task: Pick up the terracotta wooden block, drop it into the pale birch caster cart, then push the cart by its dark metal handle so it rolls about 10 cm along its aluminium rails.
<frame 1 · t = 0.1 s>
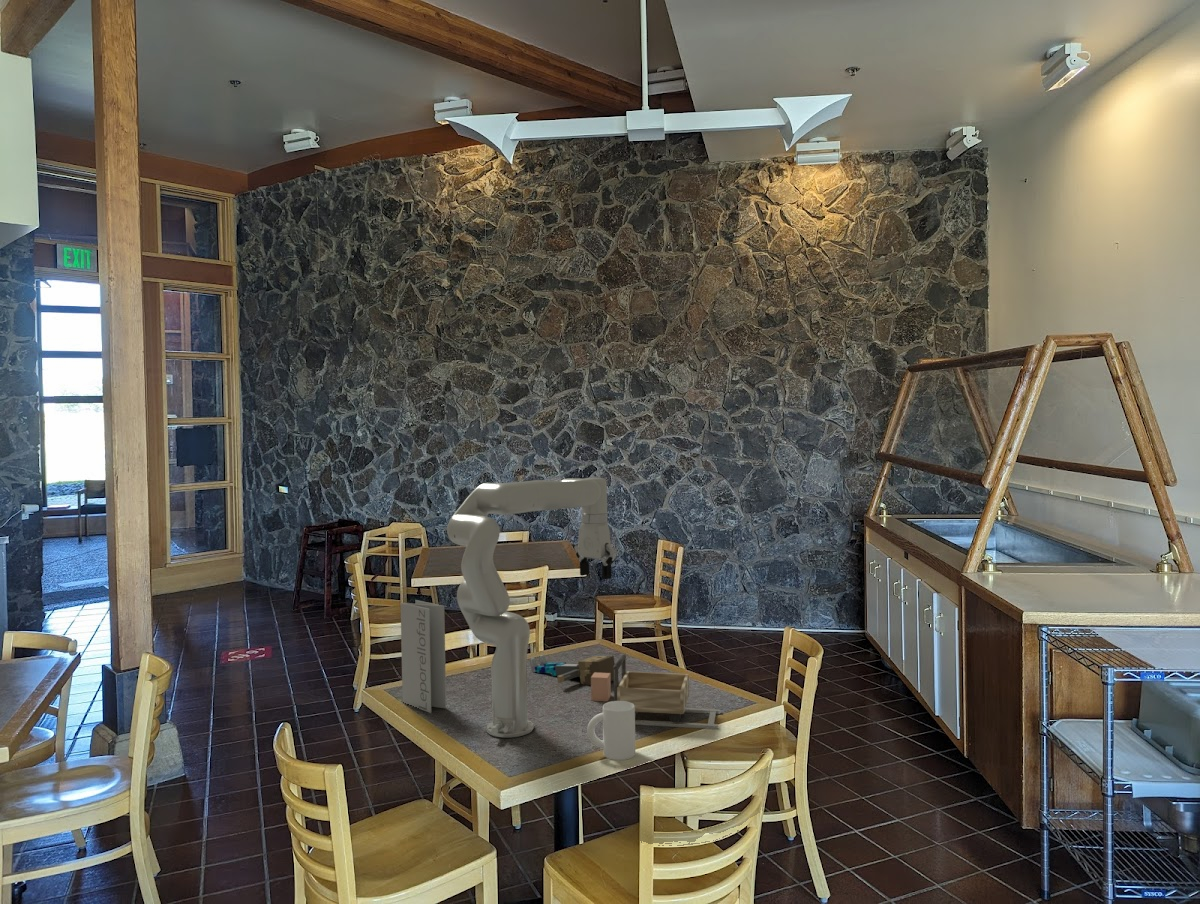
hand: (595, 576, 242), 37 cm above the table, tool pointing down, fingers open, 9 cm apart
toy: (571, 678, 268), on the table
rails: (672, 718, 227), on the table
mug: (611, 754, 202), on the table
cart: (651, 686, 228), point 9 cm above the table, slide at 0.0 cm
brochure: (424, 706, 241), on the table
block: (601, 698, 246), on the table
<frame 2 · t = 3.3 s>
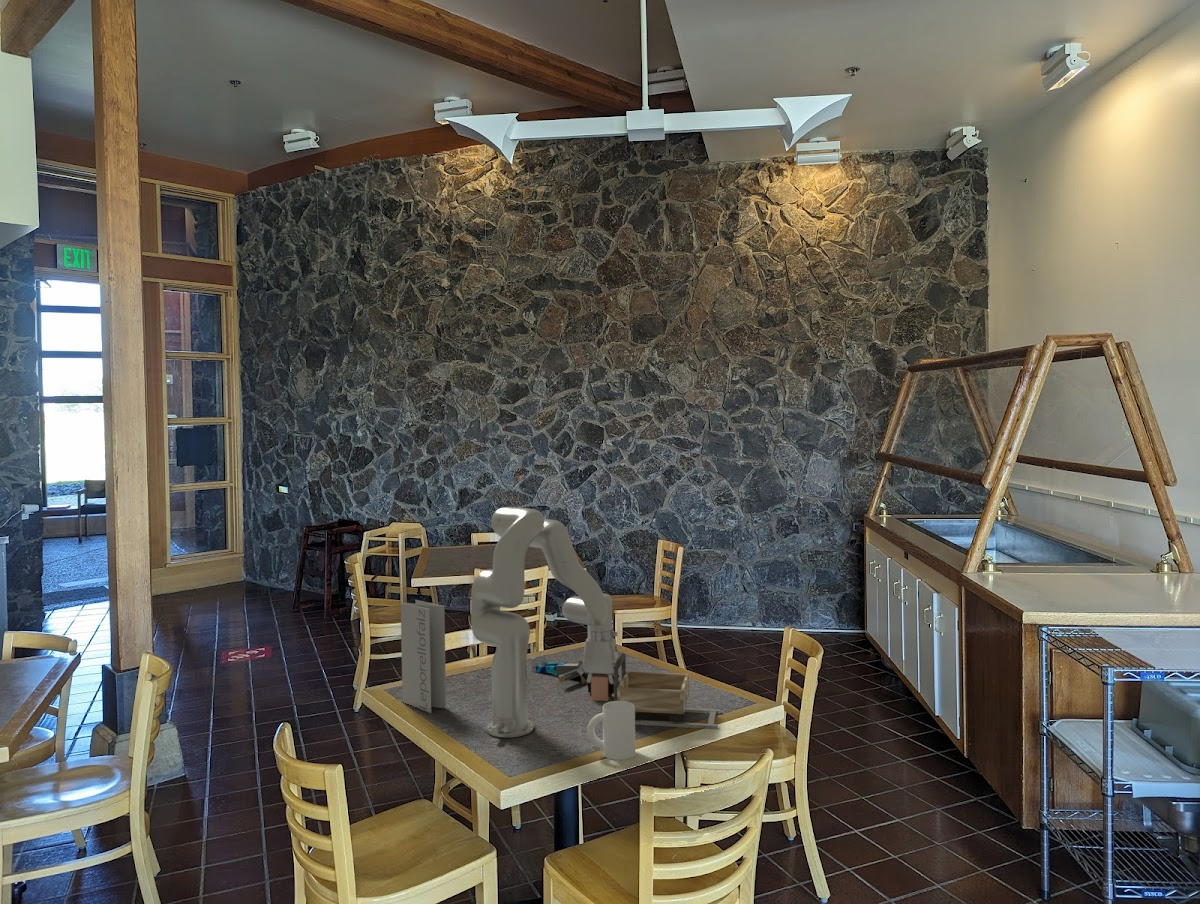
hand: (601, 694, 246), 1 cm above the table, tool pointing down, fingers closed on block, 5 cm apart
block: (601, 698, 246), on the table, touching gripper
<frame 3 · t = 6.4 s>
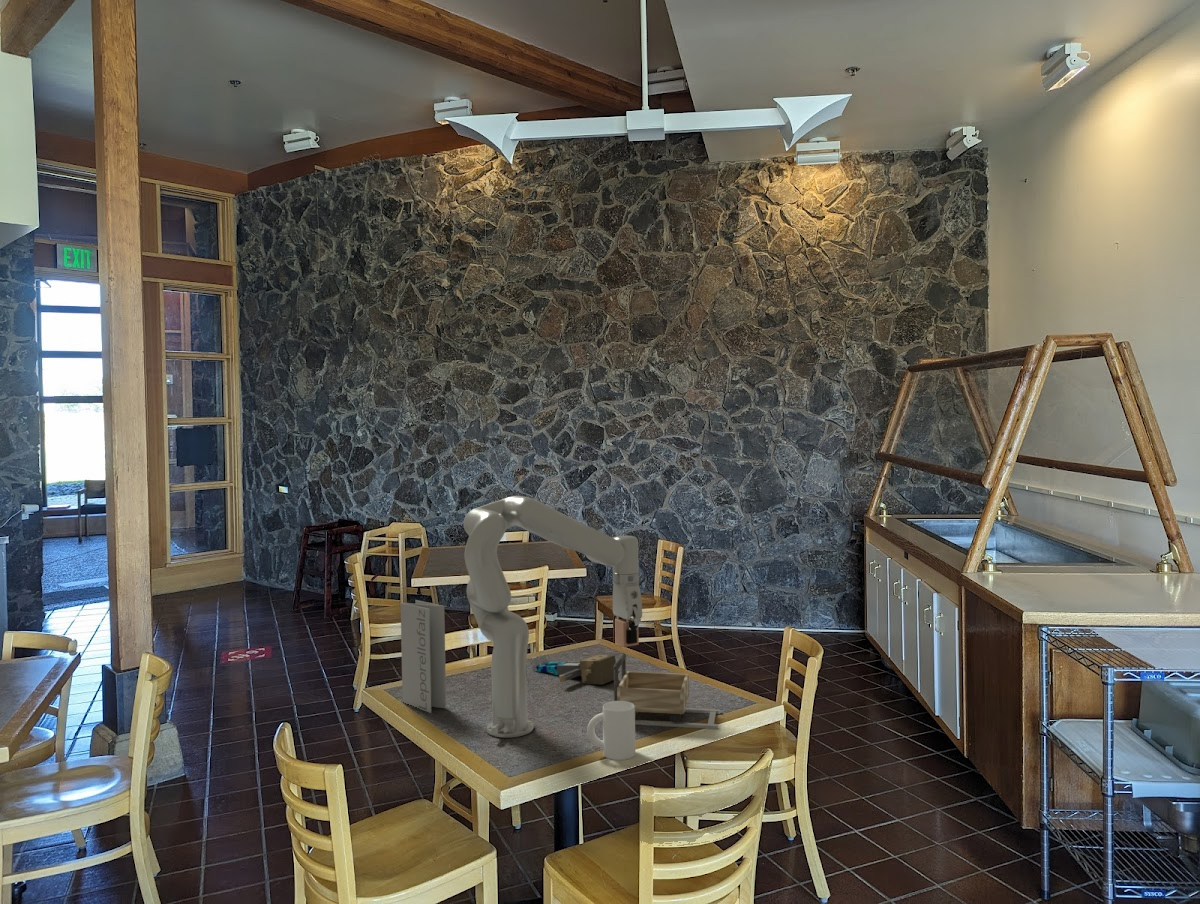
hand: (626, 640, 237), 19 cm above the table, tool pointing down, fingers closed on block, 5 cm apart
block: (626, 643, 237), point 18 cm above the table, touching gripper
when the fingers open (8 cm above the table, at t = 9.7 s): block drops 2 cm, resting on cart.
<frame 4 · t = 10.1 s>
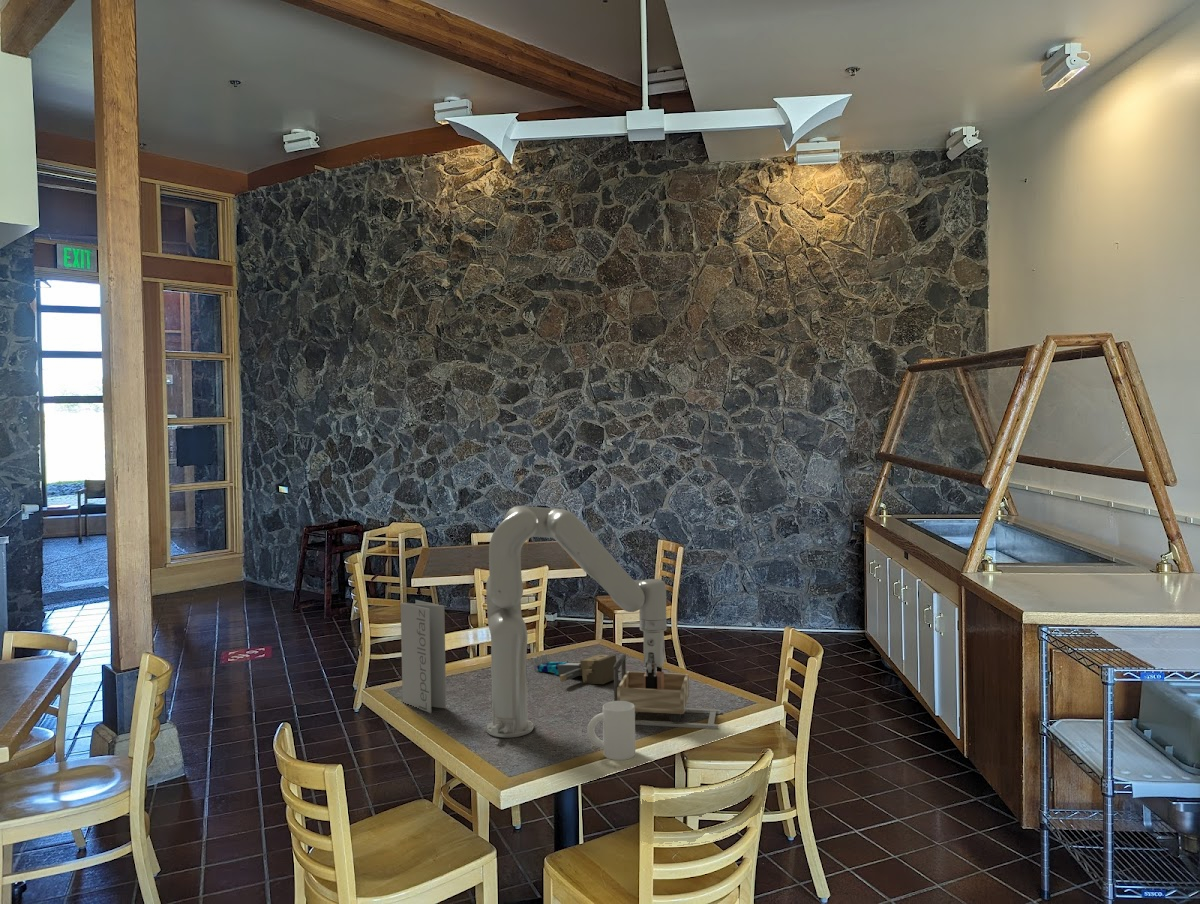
hand: (653, 685, 228), 9 cm above the table, tool pointing down, fingers open, 9 cm apart
cart: (651, 686, 228), point 9 cm above the table, slide at 0.0 cm, touching block
block: (654, 698, 228), point 5 cm above the table, touching cart
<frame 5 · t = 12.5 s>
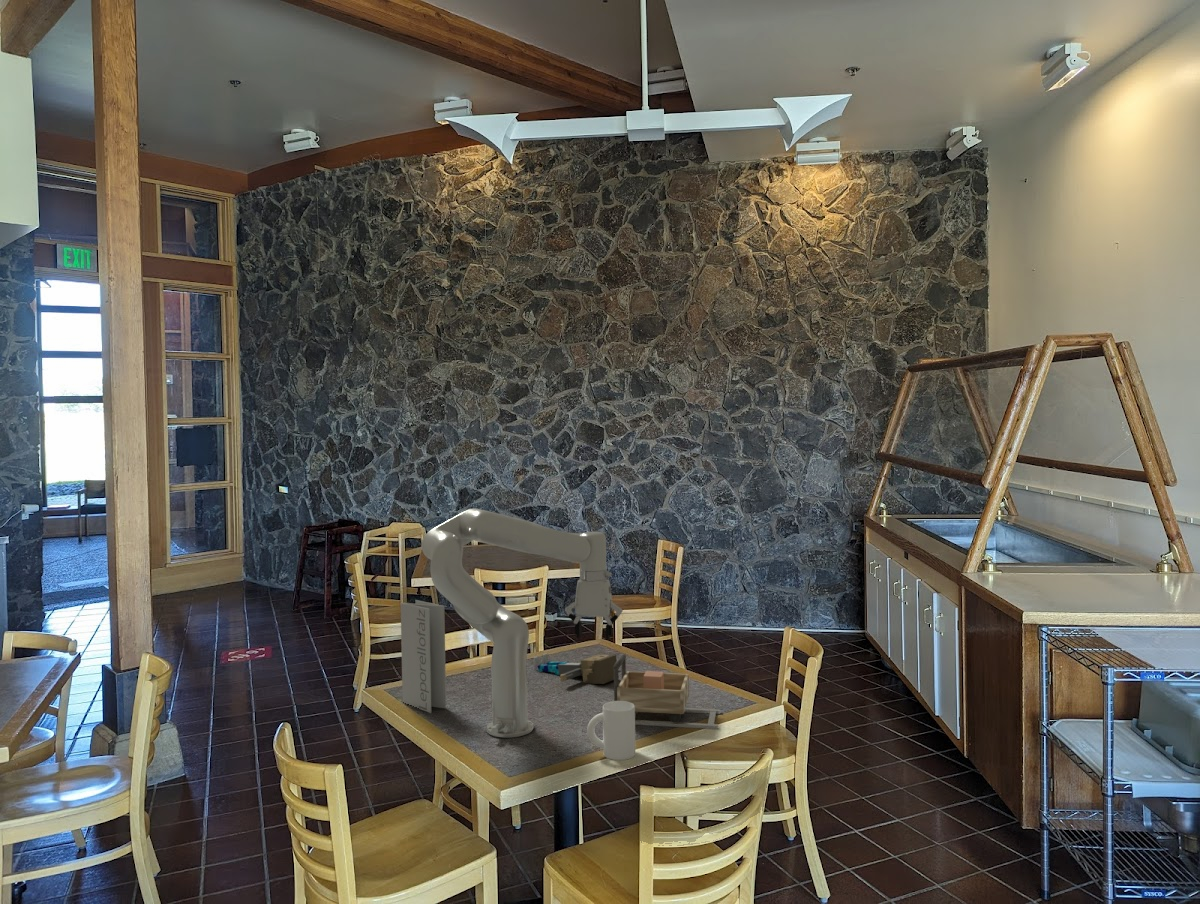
hand: (593, 637, 231), 22 cm above the table, tool pointing down, fingers open, 7 cm apart
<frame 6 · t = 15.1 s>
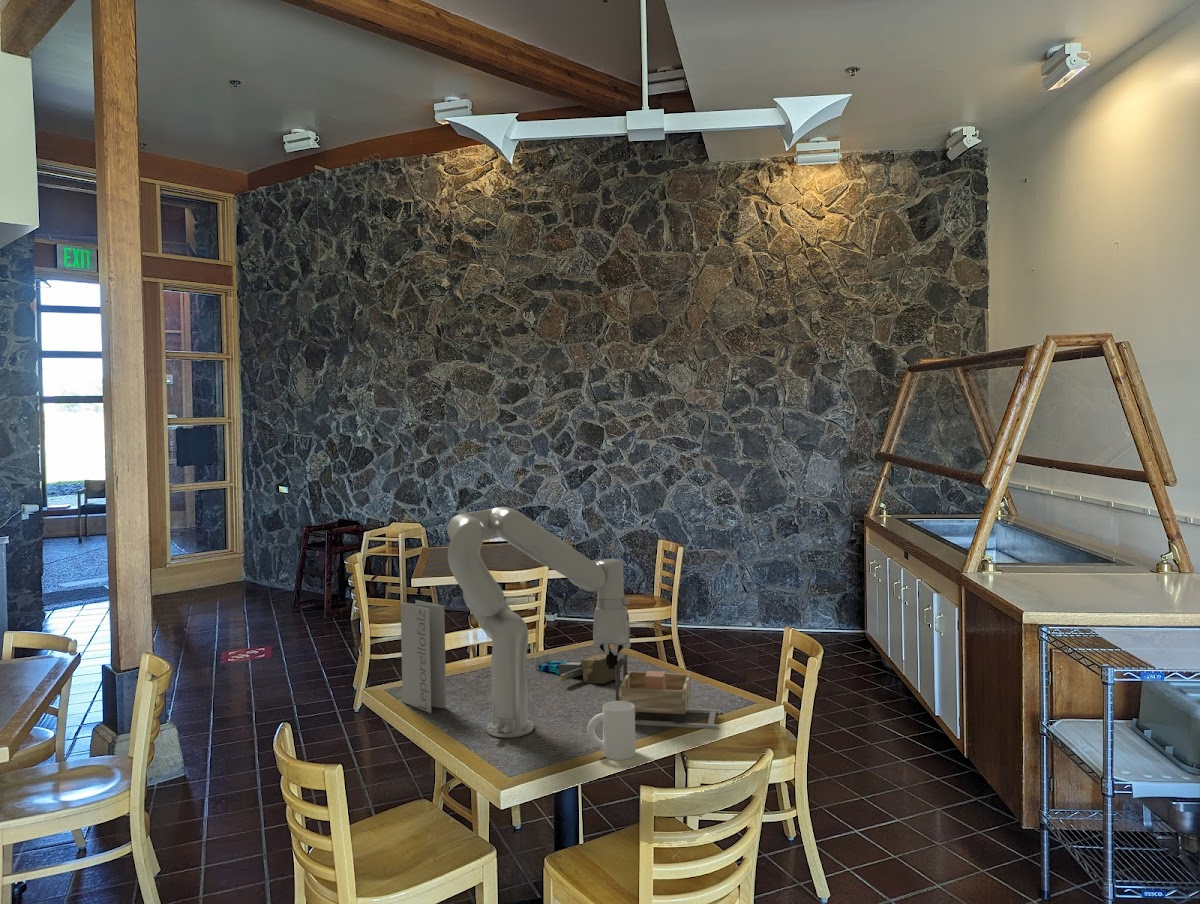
hand: (612, 667, 231), 13 cm above the table, tool pointing down, fingers closed
cart: (653, 686, 228), point 9 cm above the table, slide at 0.5 cm, touching block, gripper
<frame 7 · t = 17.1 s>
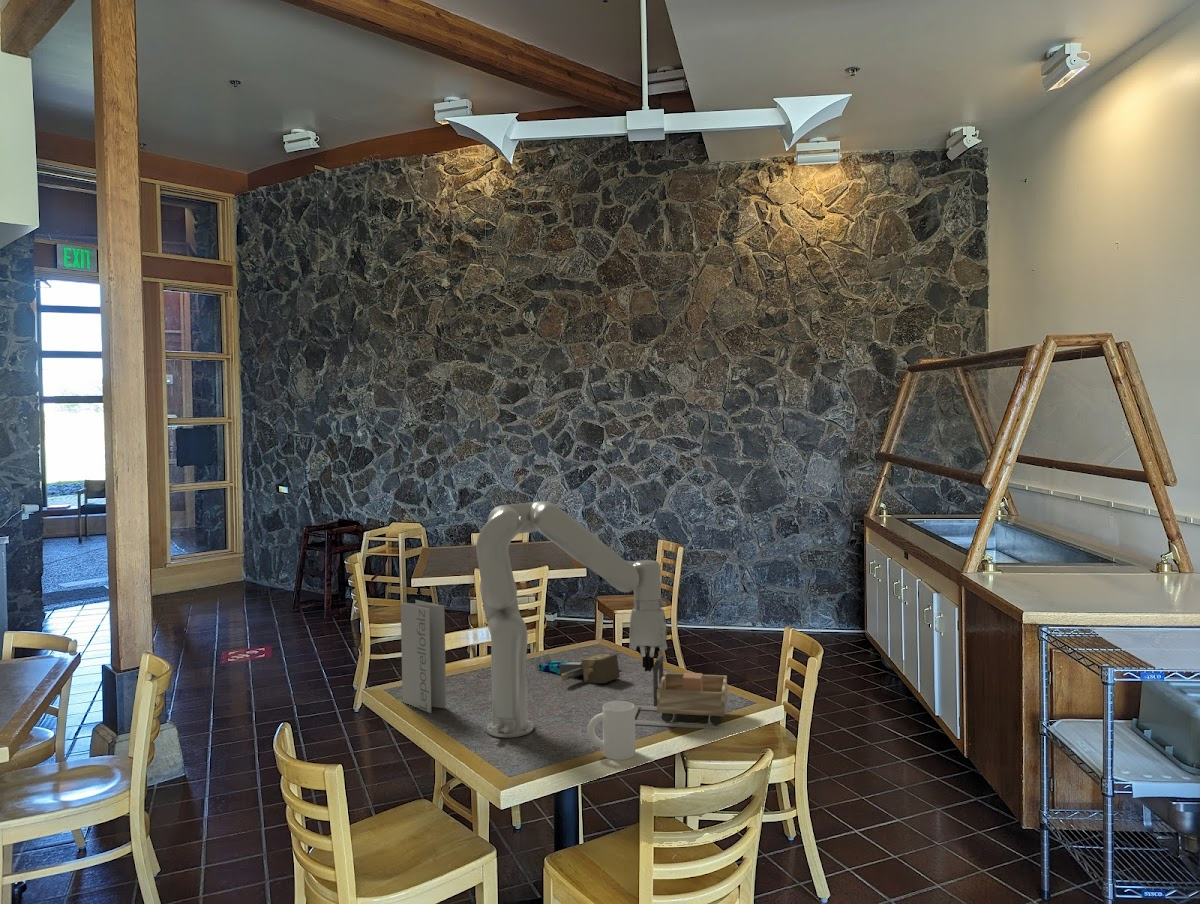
hand: (648, 670, 229), 13 cm above the table, tool pointing down, fingers closed
cart: (690, 688, 226), point 9 cm above the table, slide at 10.9 cm, touching block
block: (693, 700, 226), point 5 cm above the table, touching cart
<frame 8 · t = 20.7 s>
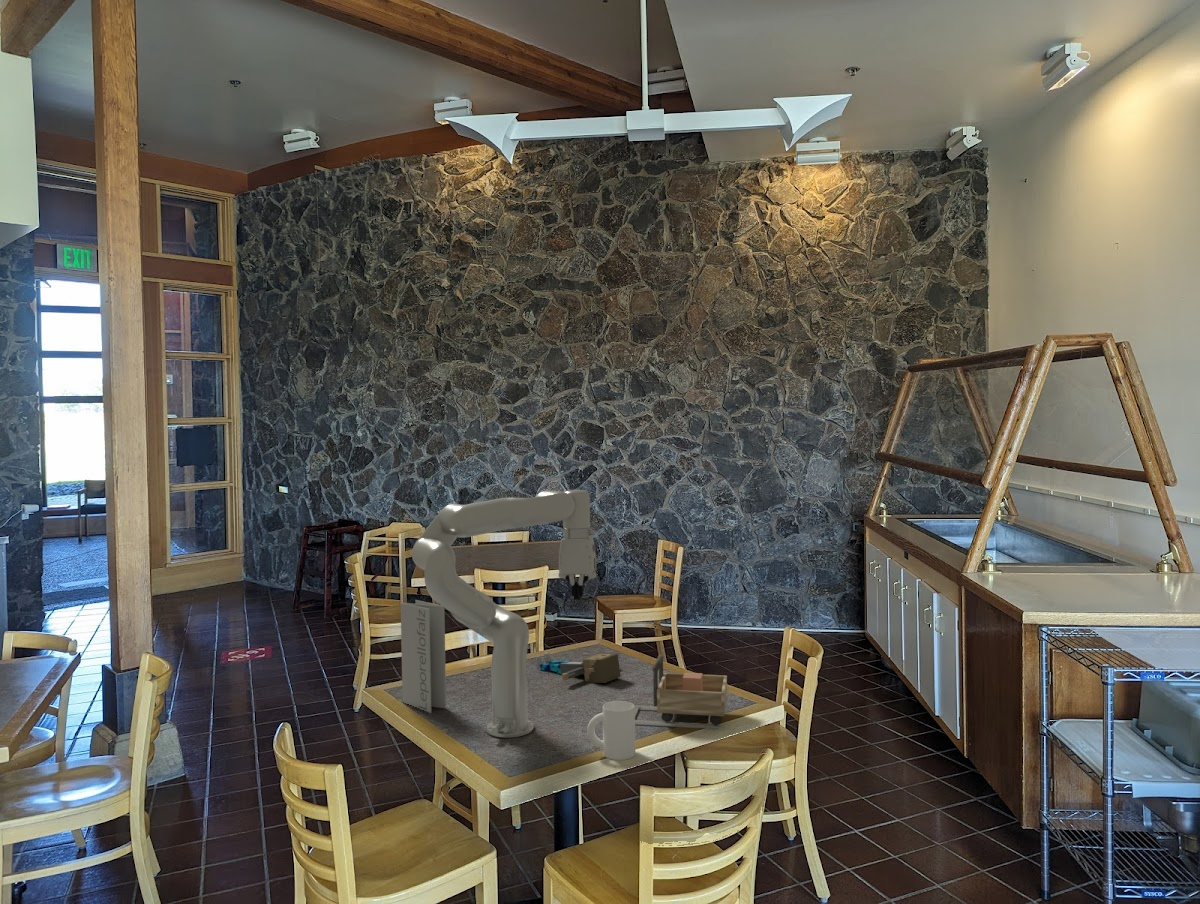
hand: (577, 598, 230), 33 cm above the table, tool pointing down, fingers closed
at the end: cart slide at 10.9 cm; block inside the target area (0.9 cm from its centre), point 5.2 cm above the table; block tilted 0° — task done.
